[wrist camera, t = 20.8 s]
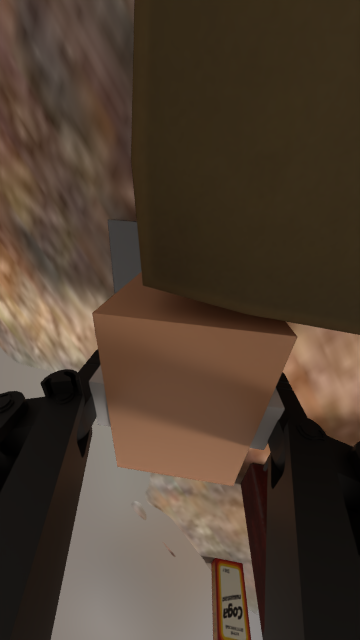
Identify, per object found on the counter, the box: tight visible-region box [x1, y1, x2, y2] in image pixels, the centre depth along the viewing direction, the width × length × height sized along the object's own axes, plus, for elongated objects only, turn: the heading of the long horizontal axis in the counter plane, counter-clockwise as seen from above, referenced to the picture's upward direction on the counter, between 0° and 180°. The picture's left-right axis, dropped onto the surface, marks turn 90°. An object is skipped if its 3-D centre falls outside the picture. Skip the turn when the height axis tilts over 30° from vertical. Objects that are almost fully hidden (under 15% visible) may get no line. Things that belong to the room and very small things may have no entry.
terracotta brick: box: [92, 272, 297, 486], centre depth 11 cm, size 9×6×7 cm, turn 176°
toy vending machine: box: [241, 463, 268, 640], centre depth 26 cm, size 9×11×28 cm
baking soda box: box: [211, 558, 251, 640], centre depth 60 cm, size 10×6×16 cm
